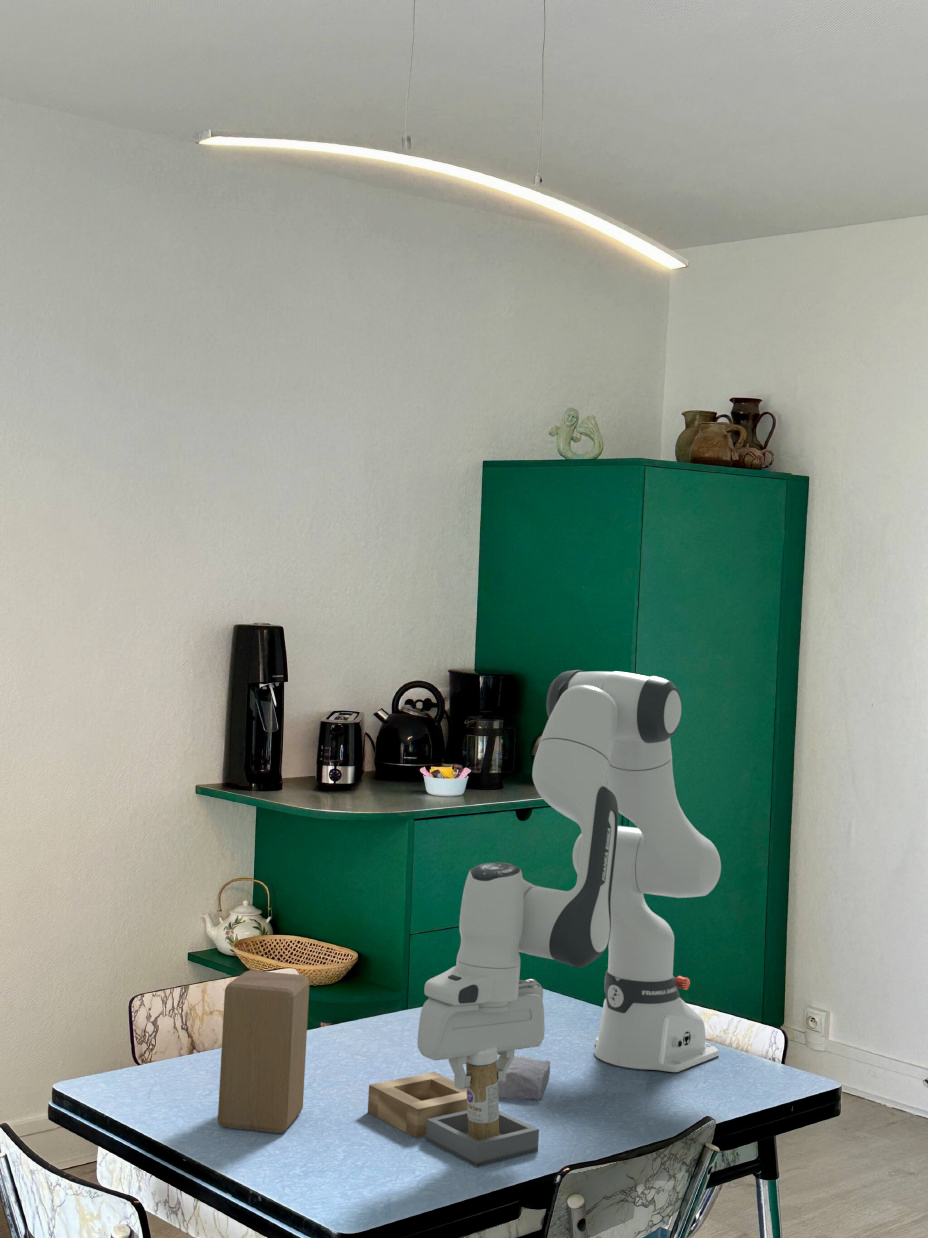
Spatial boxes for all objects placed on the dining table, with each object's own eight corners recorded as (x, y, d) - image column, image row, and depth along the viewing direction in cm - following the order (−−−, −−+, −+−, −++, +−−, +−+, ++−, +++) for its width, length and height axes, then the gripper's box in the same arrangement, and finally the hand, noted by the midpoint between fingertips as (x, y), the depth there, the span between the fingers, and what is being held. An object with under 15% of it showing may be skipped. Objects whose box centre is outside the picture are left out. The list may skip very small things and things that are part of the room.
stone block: (481, 1108, 207) (546, 1102, 205) (477, 1076, 207) (541, 1070, 206) (493, 1087, 219) (554, 1081, 217) (489, 1057, 219) (549, 1050, 217)
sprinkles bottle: (461, 1141, 186) (456, 1046, 184) (483, 1130, 189) (479, 1036, 188) (485, 1151, 182) (481, 1054, 181) (507, 1139, 186) (503, 1044, 185)
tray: (486, 1126, 193) (488, 1105, 194) (538, 1151, 185) (539, 1129, 185) (425, 1141, 187) (426, 1119, 187) (475, 1167, 178) (477, 1144, 178)
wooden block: (238, 1105, 197) (245, 968, 198) (304, 1112, 196) (311, 974, 196) (214, 1129, 187) (222, 984, 188) (284, 1136, 186) (292, 991, 186)
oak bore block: (432, 1098, 204) (434, 1072, 204) (483, 1122, 195) (484, 1095, 195) (367, 1112, 197) (369, 1084, 197) (416, 1138, 187) (418, 1109, 188)
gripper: (528, 973, 195) (521, 1070, 194) (414, 983, 182) (407, 1088, 181) (557, 982, 190) (551, 1082, 189) (443, 993, 177) (435, 1101, 176)
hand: (479, 1085), depth 185 cm, fingers closed on sprinkles bottle, 5 cm apart
